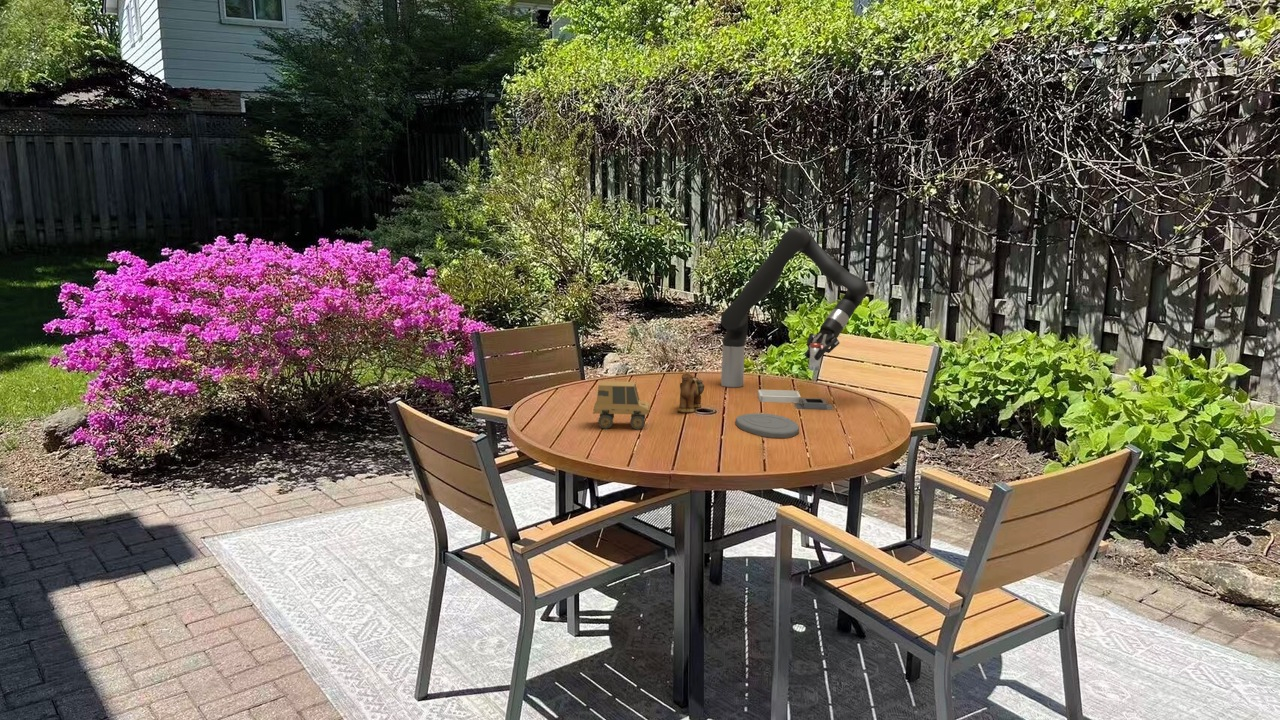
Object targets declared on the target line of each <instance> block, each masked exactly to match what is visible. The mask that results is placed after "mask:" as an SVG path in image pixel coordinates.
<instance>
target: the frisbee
mask: <svg viewBox="0 0 1280 720" xmlns="http://www.w3.org/2000/svg"><path fill="white" fill-rule="evenodd" d="M735 424H736V427H737V428H739V429H740V430H742V431H744V432H746V433H750V434H752V435H756V436H759V437H761V438H762V437H763V438H769V439H788V438H793V437H796V436H797V435H798V434H799V432H800V426H799V425H798V423H797V422H795V421H794V420H793V419H790V418H789V417H785V416H782V415H778V414H772V413H760V412H759V413H756V412H755V413H746V414H741V415H738V416H736V418H735Z"/></svg>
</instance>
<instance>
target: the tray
mask: <svg viewBox="0 0 1280 720" xmlns="http://www.w3.org/2000/svg"><path fill="white" fill-rule="evenodd" d="M757 398H758V400H759V403H783V404H785V403H789V404H792V403H793V404H794V403H801V401H802V396H801V395H800V392H799V391H798V390H790V389H789V390H787V389H785V390H784V389H779V390H778V389H758V390H757Z"/></svg>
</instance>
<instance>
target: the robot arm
mask: <svg viewBox="0 0 1280 720" xmlns="http://www.w3.org/2000/svg"><path fill="white" fill-rule="evenodd" d="M798 252H800V253H802V254H804V255H805V256H806V257H807V258H809V259H810V260H811V261H812V262H813V263H814V264H815V265H816V267H817V268H818V269H819V271H820V272H821V274H823V275H824V277H826V278H827V279H828V280H829V281H830V282H831V283H832V284H833V285H835V286H836V287H841V286H842V287H844V289H845V288H846V289H847V291H846V292H845V294H844V295H843V297H842V298H841V299H840V300H839V301H838V302H837V303H836V305H835V306H834V308H833V309H832V310H831V312H829V314H828V315H827V316H826V318H825V320H824V321H823V322H822V324H821V325H820V327H819V331H818V332H816V334H813V333H811V332H810V333H809V335H808V338H807V341H806V346H807V350H806V351H805V353H804V356H805V358H806V359H809V356H810V343H812V342H816V343H821V347H820V350H818V352H817V353H816V355H815V356H814V358H815V360H817V361H818V360H819V359H820V360H821V358H822V357H823V355H824V354H826V353H827V354H829V353H831V352H832V351H833V350H834V349H835V348H836V347H837V346H839V345H840V343H841V342H840V341H839V339H838V337H839V336H840V334H841V333H842V332H843V330H844V329H845V327H846V326H847V324H848V322H849V320H850V318H851V317H852V316H853V314H854V313H855V310H856V309H857V308H858V307H859V306H860V305H861V304H862V303H863V301H864V299H865V297H866V295H867V292H868V290H869V289H868V285H867V283H866V282H865V281H864V279H862V278H861V277H859V276H857V275H855V274H854V273H852V272H849V271H848V270H847V269H846V268H845V267H843V265H841V264H840V263H839V262H838V261H837V260H836V259H834V258H833V257H832V256H831V255H830V254H828V253H827V251H825V250H824V249H823V248H822V246H820V244H819V243H818V242H817V241H816V240H815V238H814V237H813V236H812V235H811V234H810V232H809V231H808V230H807V229H805V228H803V227H792V228H790V229H788V230H787V231H785V233H784V234H783V236H782V237H781V239H780V240H779V242H778V244H777V245H776V247H775V248H774V250H773V251H772V253H771V254H770V255H768V257H767V258H766V259H765V260H764V262H762V264H761V265H760V267H759V268H758V269H757V270H756V271H755V273H754V274H753V275H752V277H751V278H750V280H749V281H748V282H747V283H746V285H745V286H744V288H742V290H741V292H740V294H739V295H738V296H737V297H736V299H735V300H734V301H733V302H732V303H730V304H729V306H727V308H725V310H724V311H723V312H722V314H721V316H720V322H721V326H722V327H723V328H724V329H726V332H725V334H724V337H723V338H722V351H721V353H722V356H721V357H722V358H721V360H722V361H721V373H720V375H721V376H720V384H721V387H725V388H740V387H741V388H742V387H743V386H744V377H745V376H744V374H745V353H746V352H745V350H746V349H745V348H746V341H747V336H748V326H749V317H748V312H750V310H751V309H752V308H753V307H754V306H755V305H756V304H757V303H759V302H760V301H761V300H762V299H764V298H765V297H766V296H767V295H768V294H769V293H770V292H771V291H772V289H773V288H774V286H775V285H776V284H777V283H778V282H779V280H780V278H781V276H782V275H783V271H784V269H785V267H786V266H787V264H788V263H789V261H790V260H791V259H792V258H793V257H794V255H795V254H797V253H798Z"/></svg>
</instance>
